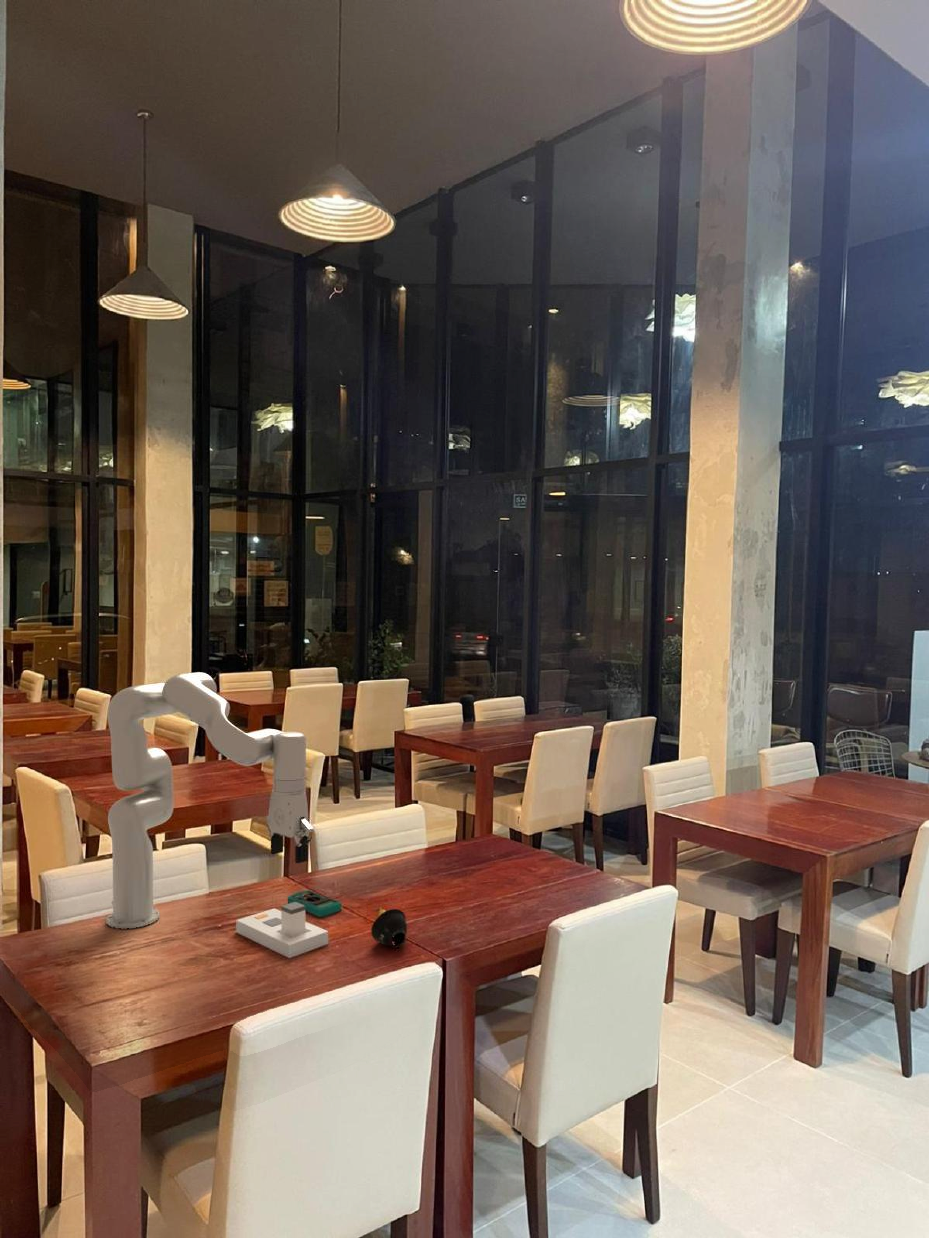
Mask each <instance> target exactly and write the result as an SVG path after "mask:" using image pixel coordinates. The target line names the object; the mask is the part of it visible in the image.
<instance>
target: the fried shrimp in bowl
mask: <svg viewBox="0 0 929 1238" xmlns="http://www.w3.org/2000/svg"><path fill="white" fill-rule="evenodd" d="M375 912H376V915H377V918H375V921H374V922H373V923H372V926H371V931H370V932H371V936H372V937H373V939H374V940H375V941H377V942H380V944H382V945H384V946H387V947H393V948H400V947H401V946H403V945H404V944H405V943H406V940H407V939H406V935H407V931H408V926H407V925H408V924H407V922H406V921H407V917H406V914H405V913H404V912H403V911H402V910H401V909H398V908H392V909H388V910H385V909H382V908H381V907H377V908H376V909H375ZM393 936H394V937H393ZM392 941H393V942H395V943H394V944H395V945H393V944H392Z"/></svg>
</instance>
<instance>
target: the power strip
mask: <svg viewBox="0 0 929 1238" xmlns="http://www.w3.org/2000/svg"><path fill="white" fill-rule="evenodd" d="M235 923H236V924H235V926H236V929H235V933H237V934H239V935H241V936H243V937H245V938H247V939H249V940H251V941H254V942H256V943H258V944H260V945H262V946H263V947H265V948H268V949H270V950H272V951H274V952H276V953H278V954H280V955H282V956H284V957H287V958H288V959H291V958H293V957H296V956H299V955H302V954H305V953H307V952H310V951H314V950H316V949H318V948H321V947H325V946H326V945H328V944H329V931H328V930H326V929H324V928H322V927H320V926H317V925H314V924H312V923H309V922H307V921H305V933H304V934H302V935H299V936H296V937H293V938H289V937H287V936H285V935H283V934H281V910H279V909H276V908H271V909H268V910H265V911H262V912H258V913H255V914H252V915H248V916H245V917H241V918H239V919H236V920H235Z"/></svg>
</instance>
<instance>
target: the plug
mask: <svg viewBox="0 0 929 1238" xmlns="http://www.w3.org/2000/svg"><path fill="white" fill-rule="evenodd" d="M280 909H281V910H280V911H281V934H283V935H285V936H287V937H289V938H293V937H296V936H299V935H302V934H304V933H305V922H306V911H305V905H302V904H300V903H297V902H293V903H290V904H288V903H287V904H283V905H281V907H280Z"/></svg>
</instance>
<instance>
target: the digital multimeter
mask: <svg viewBox="0 0 929 1238" xmlns="http://www.w3.org/2000/svg"><path fill="white" fill-rule="evenodd" d="M293 902H297V903H300V904H302V905H305V912H306V911H307V913H309V914H310V915H312V916H313V915H314V916H316V917H318V918H323V917H326V916H329V915H333V914H335V913H338V912H341V911H342V902H341V901H339V900H337V899H333V898H330V897H327V896H324V895H321V894H319V893H316V892H314V891H311V890H309V889H308V890H302V891H298V892H295V893H293V894H291V895H289V896H288V897H287V904H290V903H293Z"/></svg>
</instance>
